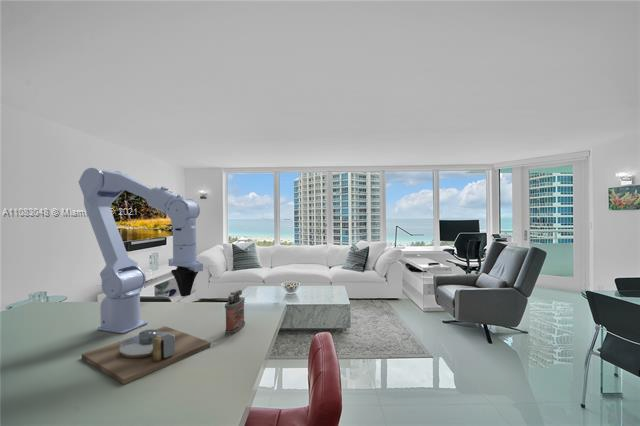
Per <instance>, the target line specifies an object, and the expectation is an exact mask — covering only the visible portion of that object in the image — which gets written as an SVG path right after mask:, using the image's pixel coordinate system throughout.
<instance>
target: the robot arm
mask: <svg viewBox="0 0 640 426" xmlns="http://www.w3.org/2000/svg"><path fill="white" fill-rule="evenodd" d="M78 185H79V188H80V189H81V190H80V191H81V192H82V196H83V205H84V209H85V211H86V213H87V217H88V219H89V222H90V225H91V228H92V230H93V233H94V236H95V239H96V241H97V243H98V247H99V250H100V252H101V254H102V257H103V260H104V262H105V265H104V268H103V269H101V271H100V272H99V277H100V279H101V285H100V286H101V290H102V292H103V294H104V295H106V296H105V297H103V298H102V300H101V301H100V302H101V303H100V326H99V327H97V330H99V331H105V332H112V333H118V334H125V333H127V332H130V331H132V330H135V329H137V328H140V327H142V326H145V325H146V324H148V323H149V322H148V320H147V321H146V320H141V292H142V288H143V287H144V286H145V285H146V281H147V277H146V274H145V272H144V271H143V270H142V269H141V268H140V265H139V263H138V261H135V260H134V259H132V258H130V257H129V255H128V252H127V249H126V247H125V244H124V241H123V238H122V235H121V233H120V231H119V228H118V225H117V222H116V220H115V218H114V215H113V212H112V209H111V205H112V203H114V201H116V200H117V198H119V196H120V195H121V194H122V193H123V192H124V191H126V192H128V193H131V194H134V195H136V196H139V197H140V198H143V199H145V200H146V204H147V205H148V206H149V207H152V208H153V209H155V210H157V211H160V212H161V213H163V214H166V215H167V216H168V218H169V220H170V221H171V222H170V223H171V226H172V258H168V267H176V269H172V270H171V271H170V272H171V274H172V276H173V277H174V279H175V282H176V284H177V288H178V292H179V294H180V297H182V298H183V297H188V296H191V294H192V290H193V285H194V282H195V279H196V277H197V275H198V274H199V272H203V271H204V263H203V262H200V260H197V220H196V219H197V218H198V217H199V216H200V212H201V208H200V205H199V204H198V203H197V202H196V201H195V200H194V199H192V198H188V199H185V198H184V197H183V196H184V195H182V194H176V193H174V192H171V191H169V188H168V187H166V186H156V187H151V186H149V185H147V184H145V183H143V182H142V181H139V180H138V179H136V178H134V177H132V176H131V175H129V174H127V173H123V172H122V171H118V170H117V171H116V170H115V171H113V170H106V169H99V168H96V167H89V168H86V169H85V170H84V171H83V172H82V174H81V175H80V178H79V180H78Z"/></svg>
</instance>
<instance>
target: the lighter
mask: <svg viewBox="0 0 640 426" xmlns="http://www.w3.org/2000/svg"><path fill="white" fill-rule="evenodd" d="M242 294H243V289H242V290H241V289H237V290H235V291H231V292H230V294H229V295H227V296H228V301H227V302H226V303H225V305H224V309H225V331H224V334H225V335H227V336H228V335H229V336H231V334H232V335H235V334H236V332H237V333H238V332H240V331H241V330H242V329H243V328H244V327H245V326H246V321H245V300H246V299H245V297H243V296H242ZM244 325H245V326H244ZM243 326H244V327H243ZM242 327H243V328H242ZM239 330H240V331H239Z"/></svg>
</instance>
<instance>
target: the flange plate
mask: <svg viewBox="0 0 640 426" xmlns="http://www.w3.org/2000/svg"><path fill="white" fill-rule="evenodd" d="M134 336H135V337H134ZM134 336H131V337H132V338H131V337H129V338H130V339H128V338H126V339H127V340H126V341H124V342H123V343H122V344H121V345H120V355H121V356H123V357H127V358H142V357H148V356H152V355H153V338H156V337H161V354H162V357H163V358H166V357H168V356H171V355H173V354H174V353H175V336H174V334H172V333H169V332H157V330H155V329H152V328H151V329H145V330H142V331H140V332H139V333H138V336H137V335H134Z"/></svg>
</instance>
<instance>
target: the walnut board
mask: <svg viewBox="0 0 640 426" xmlns="http://www.w3.org/2000/svg"><path fill="white" fill-rule="evenodd" d="M154 330H157V332H169V333H172V334H174V336H175V353H174V354H173V355H171V356H168V357H166V358H163V357H162V354H161V337H156V338H153V355H152V356H148V357H142V358H127V357H123V356H121V355H120V345H121V344H122V343H123V342H124V341H126V340H127V339H130V338H132V337H135V336H138V335H139V334H138V335H134V336H130V337H129V338H126V339H122V340H118V341H116V342H113V343H110V344H107V345H104V346H101V347H98V348H95V349H92V350H89V351H87V352H83V353H81V359H82V360H84V361H85V362H87V363H88V364H90V365H91V366H93V367H94V368H97V369H98V370H100V371H101V372H103V373H105V374H106V375H108V376H109V377H111V378H112V379H114V380H116V381H118V382H119V383H121V384H123V385H126V384H129V383H131V382H134V381H135V380H138V379H139V378H142V377H145V376H146V375H149V374H150V373H154V372H155V371H157V370H160V369H162V368H165V367H167V366H170V365H171V364H174V363H176V362H178V361H181V360H183V359H185V358H187V357H190V356H192V355H194V354H196V353H199V352H201V351H203V350H205V349H208V348H210V347H211V341H208V340H205V339H202V338H200V337H197V336H194V335H190V334H188V333H185V332H183V331H179V330H177V329H174V328H171V327H169V326H165V325H164V326H161V327H158V328H156V329H154Z"/></svg>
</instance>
